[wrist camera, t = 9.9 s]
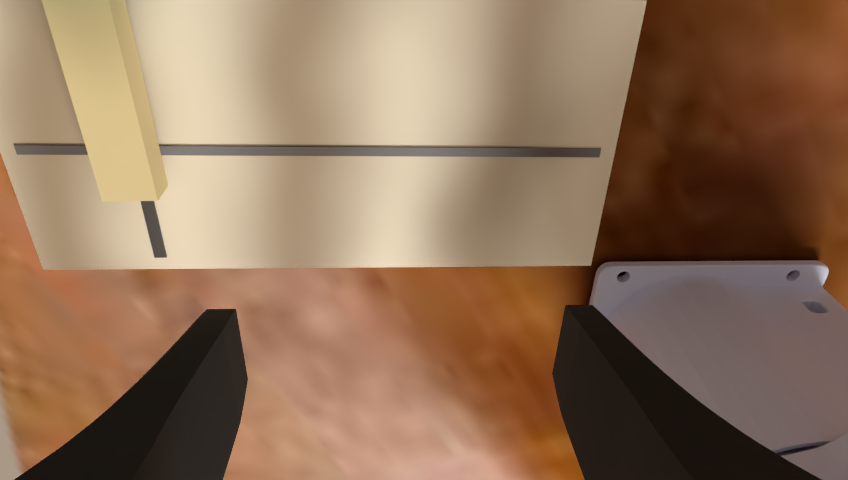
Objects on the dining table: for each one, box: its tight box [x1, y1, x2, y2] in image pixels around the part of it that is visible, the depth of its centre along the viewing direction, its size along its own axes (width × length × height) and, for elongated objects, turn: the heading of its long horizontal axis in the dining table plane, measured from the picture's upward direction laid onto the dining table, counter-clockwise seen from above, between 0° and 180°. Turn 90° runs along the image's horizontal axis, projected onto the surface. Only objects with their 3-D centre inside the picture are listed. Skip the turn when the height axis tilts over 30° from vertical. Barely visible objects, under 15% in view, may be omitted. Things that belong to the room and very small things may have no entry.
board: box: [0, 0, 647, 270], centre depth 19 cm, size 19×9×2 cm, turn 88°
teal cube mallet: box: [42, 0, 168, 202], centre depth 16 cm, size 4×10×5 cm, turn 179°
